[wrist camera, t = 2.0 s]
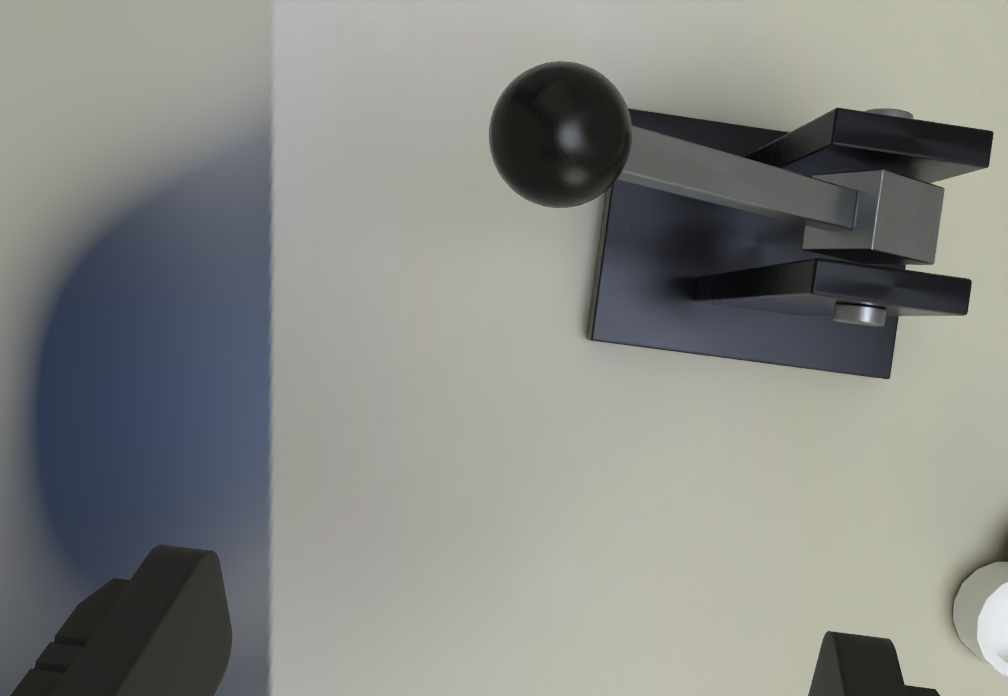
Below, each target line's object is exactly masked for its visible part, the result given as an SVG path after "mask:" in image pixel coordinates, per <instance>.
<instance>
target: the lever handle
mask: <svg viewBox="0 0 1008 696" xmlns="http://www.w3.org/2000/svg"><path fill="white" fill-rule="evenodd" d="M489 144H490V151H491V155H492V158H493V161H494V164H495V166H496V168H497V170H498V172H499V174H500V175H501V177H502V178H503V180H504V181H505V182H506V183H507V184H508V185H509V187H510V188H511V189H512V190H514V191H515V192H516V193H517V194H519V195H520V196H522V197H523V198H525V199H526V200H528V201H531V202H533V203H535V204H539V205H542V206H545V207H552V208H567V207H573V206H578V205H581V204H584V203H587V202H589V201H591V200H593V199H595V198H597V197H598V196H600V195H601V194H602V193H604V192H605V191H606V190H608V189H609V187H610V186H611V185H612V184H613V183H614V182H615V181H616V180H617V179H618V180H622V181H626V182H630V183H634V184H638V185H642V186H646V187H650V188H654V189H659V190H663V191H667V192H671V193H675V194H679V195H683V196H687V197H691V198H695V199H699V200H703V201H707V202H711V203H715V204H719V205H723V206H727V207H732V208H736V209H740V210H744V211H748V212H752V213H756V214H760V215H764V216H768V217H772V218H776V219H780V220H784V221H788V222H792V223H796V224H800V225H804V226H805V231H804V238H803V245H802V249H803V250H805V251H809V252H814V253H818V254H823V255H827V256H831V257H836V258H840V259H845V260H849V261H854V262H858V263H862V264H911V265H933V264H934V260H935V253H936V246H937V239H938V232H939V225H940V218H941V211H942V204H943V197H944V188H943V187H939V186H936V185H933V184H930V183H927V182H923V181H920V180H917V179H914V178H911V177H907V176H904V175H901V174H898V173H895V172H892V171H888V170H885V169H873V170H861V171H849V172H837V173H825V174H814V175H812V177H809V176H805V175H802V174H798V173H795V172H791V171H788V170H785V169H781V168H778V167H774V166H771V165H767V164H764V163H760V162H757V161H753V160H750V159H746V158H743V157H739V156H736V155H732V154H729V153H726V152H722V151H719V150H715V149H712V148H708V147H705V146H701V145H698V144H694V143H691V142H687V141H684V140H680V139H677V138H673V137H670V136H667V135H663V134H660V133H656V132H653V131H649V130H646V129H642V128H639V127H635V126H632V124H631V118H630V114H629V111H628V108H627V105H626V103H625V101H624V99H623V97H622V95H621V94H620V92H619V91H618V90H617V88H616V87H615V86H614V85H613V84H612V83H611V82H610V81H609V80H608V79H607V78H606V77H605V76H603V75H602V74H600V73H599V72H597V71H596V70H594V69H592V68H590V67H587V66H585V65H582V64H578V63H573V62H560V61H559V62H550V63H545V64H541V65H538V66H536V67H534V68H531V69H529V70H527V71H525V72H524V73H522V74H521V75H519V76H518V77H517V78H516V79H514V80H513V81H512V82H511V83H510V84H509V85H508V87H507V88H506V89H505V90H504V91H503V93H502V94H501V96H500V97H499V99H498V101H497V103H496V105H495V108H494V110H493V114H492V117H491V121H490V127H489Z"/></svg>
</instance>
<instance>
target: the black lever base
mask: <svg viewBox="0 0 1008 696" xmlns="http://www.w3.org/2000/svg"><path fill="white" fill-rule="evenodd" d="M628 111H629V114H630V118H631V124H632V126H635V127H639V128H642V129H646V130H649V131H653V132H656V133H660V134H663V135H667V136H670V137H673V138H677V139H680V140H684V141H687V142H691V143H694V144H698V145H701V146H705V147H708V148H712V149H715V150H719V151H722V152H726V153H729V154H732V155H736V156H739V157H743V158H746V159H750V160H753V161H757V162H760V163H764V164H767V165H771V166H774V167H778V168H781V169H785V170H788V171H791V172H795V173H798V174H802V175H805V176H809V177H812V175H814V174H825V173H837V172H849V171H861V170H873V169H885V170H888V171H892V172H895V173H898V174H901V175H904V176H907V177H911V178H914V179H917V180H920V181H923V182H927V183H933V182H936V181H940V180H944V179H947V178H951V177H955V176H958V175H962V174H966V173H969V172H973V171H976V170H980V169H984V168H987V167H988V166H989V161H990V154H991V147H992V140H993V132H992V131H988V130H982V129H975V128H969V127H962V126H955V125H949V124H942V123H935V122H929V121H922V120H916V119H913V115H912V114H911V113H909V112H906V111H903V110H897V109H872V110H867V111H864V112H863V111H856V110H849V109H843V108H836V109H834V110H832V111H830V112H828V113H826V114H824V115H822V116H820V117H819V118H817V119H815V120H813V121H811V122H809V123H807V124H805V125H803V126H802V127H800V128H798V129H796V130H794V131H792V132H790V133H789V132H782V131H776V130H769V129H762V128H756V127H749V126H742V125H735V124H729V123H722V122H715V121H709V120H702V119H695V118H688V117H682V116H675V115H668V114H661V113H655V112H648V111H641V110H635V109H628ZM804 231H805V226H804V225H800V224H796V223H792V222H788V221H784V220H780V219H776V218H772V217H768V216H764V215H760V214H756V213H752V212H748V211H744V210H740V209H736V208H732V207H727V206H723V205H719V204H715V203H711V202H707V201H703V200H699V199H695V198H691V197H687V196H683V195H679V194H675V193H671V192H667V191H663V190H659V189H654V188H650V187H646V186H642V185H638V184H634V183H630V182H626V181H622V180H618V179H617V180H616V181H615V182H614V183H613V184H612V185H611V186H610V187H609V189H608V190H606V197H605V204H604V212H603V219H602V227H601V234H600V242H599V249H598V257H597V264H596V272H595V280H594V287H593V295H592V302H591V310H590V317H589V325H588V332H587V339H588V340H593V341H600V342H608V343H615V344H623V345H631V346H638V347H646V348H654V349H661V350H669V351H677V352H684V353H692V354H700V355H707V356H715V357H722V358H730V359H738V360H745V361H753V362H761V363H768V364H776V365H784V366H791V367H799V368H807V369H814V370H822V371H829V372H837V373H845V374H852V375H860V376H868V377H875V378H883V379H889V378H890V373H891V366H892V359H893V352H894V345H895V338H896V331H897V324H898V316H963V315H966V314H967V312H968V306H969V298H970V291H971V284H972V281H971V280H970V279H967V278H959V277H952V276H945V275H938V274H931V273H924V272H916V271H909V270H905V267H906V264H862V263H858V262H854V261H849V260H845V259H840V258H836V257H831V256H827V255H823V254H818V253H814V252H809V251H805V250H803V249H802V245H803V238H804Z"/></svg>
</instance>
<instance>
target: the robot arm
mask: <svg viewBox="0 0 1008 696" xmlns="http://www.w3.org/2000/svg"><path fill="white" fill-rule="evenodd" d="M231 645H232V629H231V624H230V617H229V612H228V606H227V600H226V595H225V589H224V583H223V578H222V572H221V567H220V562H219V558H218V556H217V554H216V553H215V552H213V551H208V550H200V549H192V548H184V547H177V546H168V545H158V546H156V547H155V548H154V549H152V550H151V552H150V553H149V554H148V556H147V557H146V558H145V560H144V561H143V563H142V564H141V566H140V567H139V568H138V570H137V571H136V573H135V574H134V575H133V577H132V578H131V580H123V579H116V578H114V579H112V580H111V581H110V582H108V583H107V584H106V585H104V586H103V587H101V588H100V589H99V590H97V591H96V592H95V593H93V594H92V595H90V596H89V597H88V598H87V599H85V600H84V601H82V602H81V603H80V604H78V606H77V607H76V608H75V610H74V611H73V612H72V614H71V615H70V617H69V618H68V619H67V620H66V622H65V623H64V625H63V626H62V627H61V629H60V630H59V631H58V633H57V634H56V635H55V640H54V642H50V643H49V645H48V646H47V647H46V649H45V650H44V651H43V653H42V654H41V655H40V657H39V658H38V659H37V661H36V665H35V668H34V669H30V670H29V671H28V673H27V674H26V675H25V677H24V678H23V679H22V681H21V682H20V683H19V685H18V686H17V688H16V689H15V690H14V692H13V693H12V694H11V696H213V695H214V694H215V691H216V690H217V688H218V686H219V684H220V682H221V680H222V678H223V676H224V673H225V671H226V668H227V665H228V661H229V657H230V652H231ZM808 696H940V695H939V694H938V692H937V691H936V690H935V689H929V688H922V687H914V686H907V685H904V681H903V677H902V673H901V669H900V665H899V661H898V657H897V653H896V650H895V647H894V645H893V643H892V641H891V640H890V639H886V638H878V637H870V636H863V635H855V634H847V633H839V632H831V631H828V632H826V634H825V636H824V638H823V641H822V645H821V649H820V653H819V657H818V661H817V664H816V668H815V672H814V676H813V680H812V684H811V688H810V691H809V695H808Z"/></svg>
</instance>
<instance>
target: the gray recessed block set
mask: <svg viewBox="0 0 1008 696" xmlns="http://www.w3.org/2000/svg"><path fill="white" fill-rule="evenodd" d="M953 622H954V625H955V628H956V630H957V633H958V636H959V638H960V640H961V641H962V642H963V643H964V644H965V645H966V646H967V647H968V648H969V649H970V650H971V651H972V652H973V653H974V654H975V655H976V656H978V657H979V658H980V659H981V660H983V661H984V662H985V663H987V664H988V665H989V666H991V667H992V668H993V669H994V670H996V671H997V672H999V673H1001V674H1003V675H1006V676H1008V562H994V563H992V564H989V565H987V566H984V567H982V568H979V569H977V570H976V571H975V572H974V573H973V574H972V575H971V576H969V577H968V578H967V579H966V580H965V581H964V582H963V583H962V585H961V587H960V589H959V592H958V594H957V596H956V598H955V600H954V610H953Z"/></svg>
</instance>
